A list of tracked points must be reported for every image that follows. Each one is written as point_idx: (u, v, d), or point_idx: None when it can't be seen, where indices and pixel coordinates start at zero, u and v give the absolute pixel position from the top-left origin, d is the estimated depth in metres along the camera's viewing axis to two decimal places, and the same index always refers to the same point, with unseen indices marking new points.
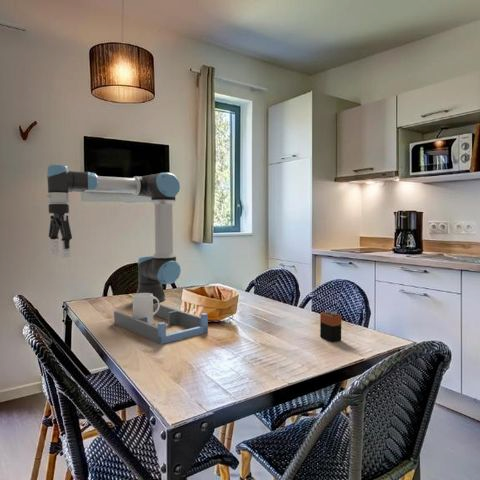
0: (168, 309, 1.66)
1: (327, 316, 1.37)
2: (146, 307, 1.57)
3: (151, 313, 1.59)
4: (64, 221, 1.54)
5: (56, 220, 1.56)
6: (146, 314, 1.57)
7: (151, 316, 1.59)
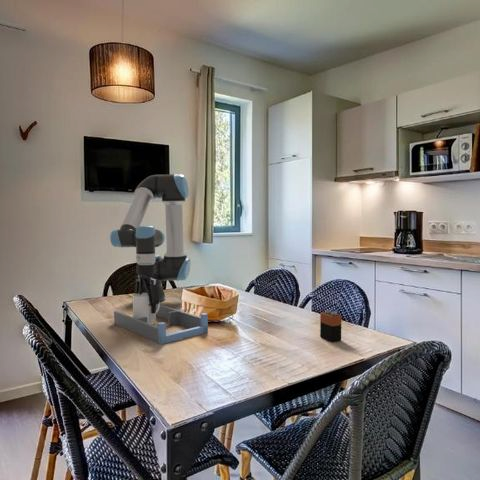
0: (168, 309, 1.66)
1: (327, 316, 1.37)
2: (146, 307, 1.57)
3: None
4: (153, 285, 1.55)
5: (144, 282, 1.58)
6: (146, 314, 1.57)
7: None
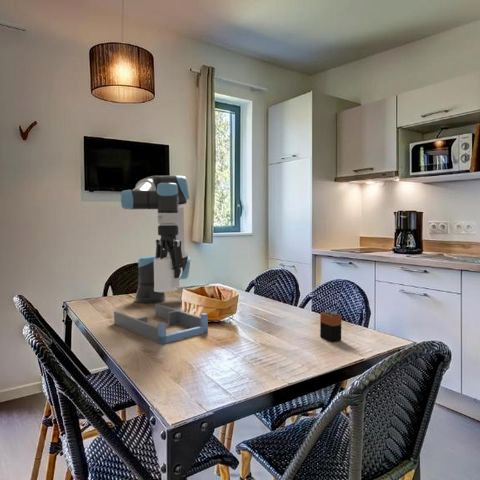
0: (168, 309, 1.66)
1: (327, 316, 1.37)
2: (169, 271, 1.43)
3: None
4: (177, 247, 1.42)
5: (167, 244, 1.44)
6: (169, 279, 1.43)
7: None
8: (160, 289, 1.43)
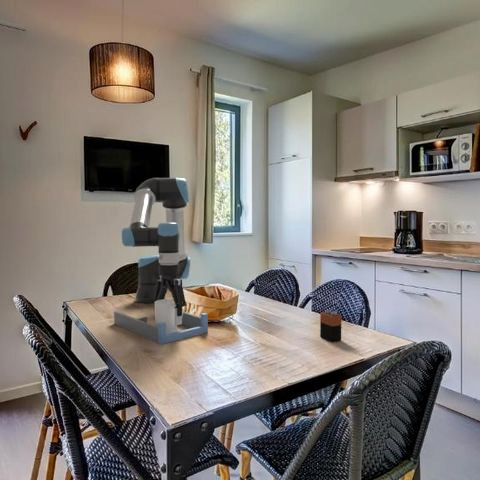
0: None
1: (327, 316, 1.37)
2: (170, 315, 1.44)
3: None
4: (178, 286, 1.43)
5: (168, 283, 1.45)
6: (170, 322, 1.44)
7: (175, 325, 1.46)
8: None
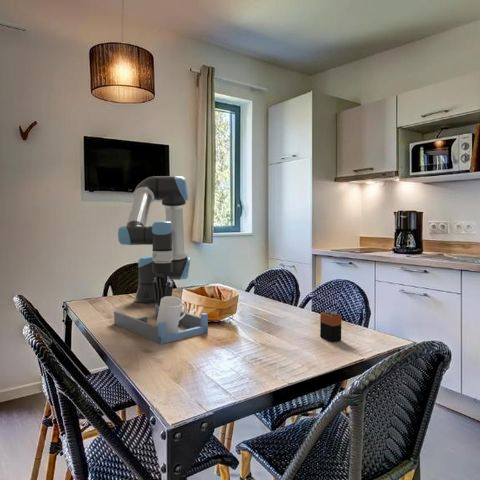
0: None
1: (327, 316, 1.37)
2: (174, 317, 1.42)
3: (177, 322, 1.45)
4: (169, 288, 1.47)
5: (161, 282, 1.48)
6: (172, 324, 1.43)
7: (177, 325, 1.45)
8: None
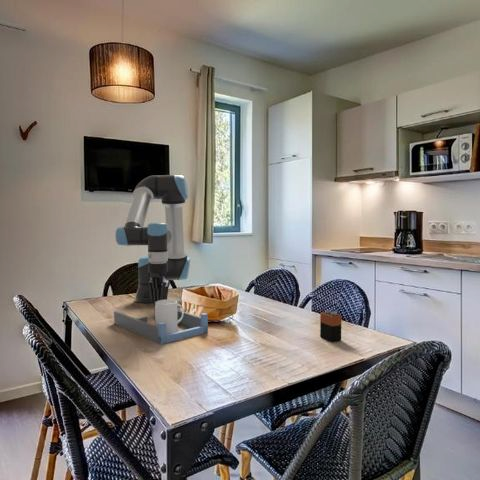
0: None
1: (327, 316, 1.37)
2: (171, 316, 1.43)
3: (176, 322, 1.46)
4: (164, 288, 1.50)
5: (156, 282, 1.51)
6: (171, 323, 1.44)
7: (176, 325, 1.46)
8: None
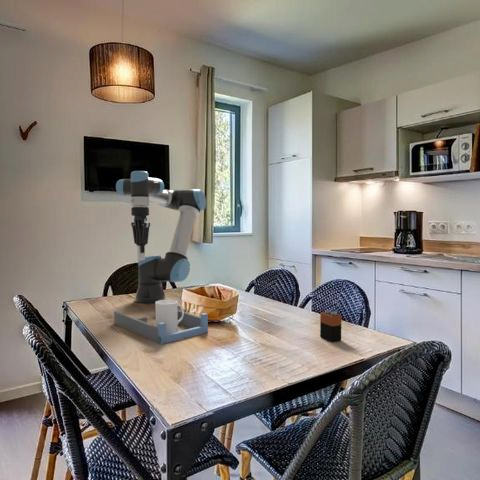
0: None
1: (327, 316, 1.37)
2: (171, 316, 1.43)
3: (176, 322, 1.46)
4: (145, 228, 1.69)
5: (138, 223, 1.70)
6: (171, 323, 1.44)
7: (176, 325, 1.46)
8: None
